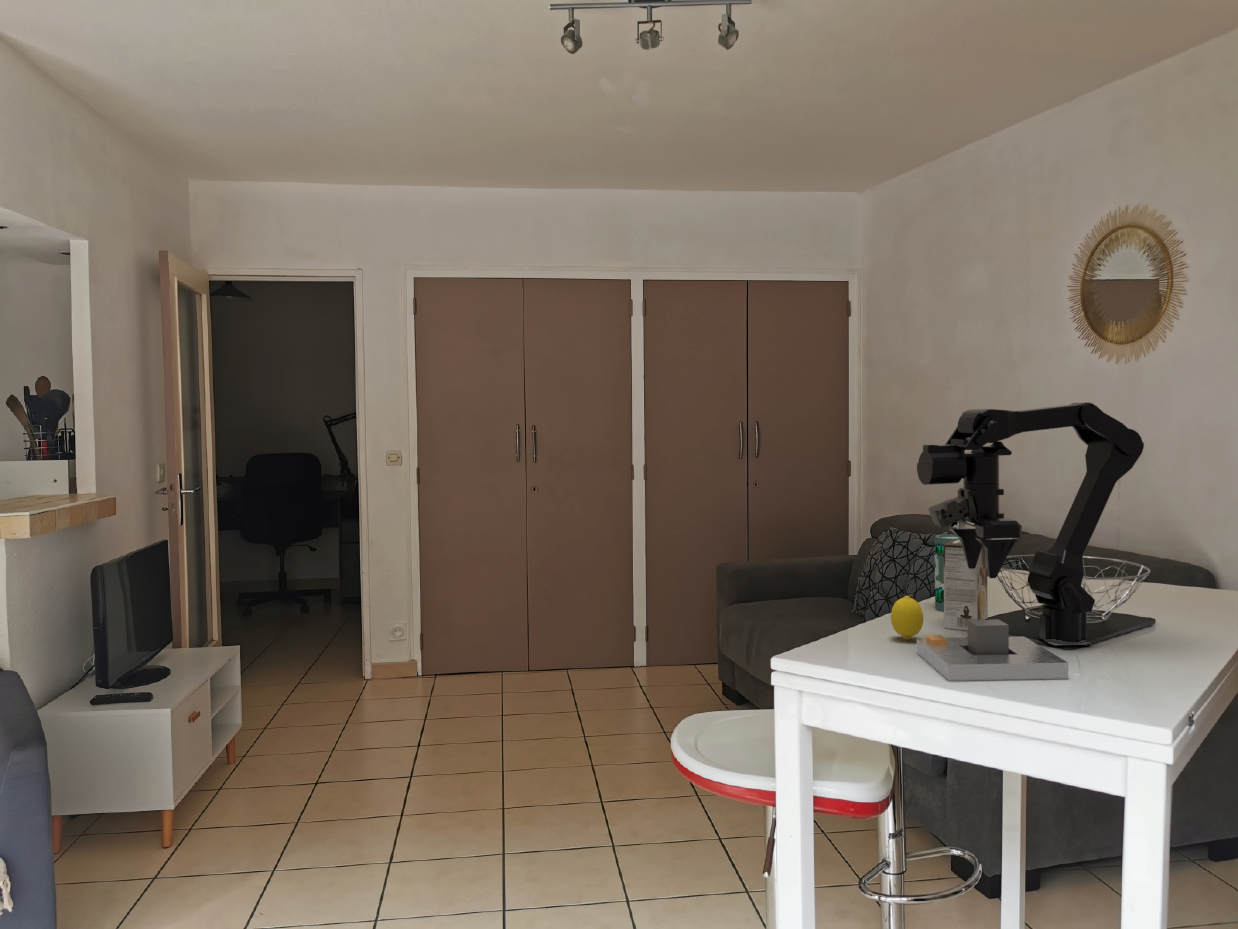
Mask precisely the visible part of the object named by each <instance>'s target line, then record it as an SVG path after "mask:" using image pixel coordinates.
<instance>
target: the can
mask: <svg viewBox="0 0 1238 929" xmlns="http://www.w3.org/2000/svg"><path fill="white" fill-rule="evenodd" d="M954 538H958V539H959V537H958V536H957V535H955V534H937V535H934V608H935V610H936V611H939V612H943V613H944V550H943V545H944V544H946V543H947V542H949V541H951V540H952V539H954Z"/></svg>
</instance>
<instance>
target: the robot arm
mask: <svg viewBox="0 0 1238 929" xmlns="http://www.w3.org/2000/svg"><path fill="white" fill-rule="evenodd" d="M1068 427H1069V428H1070V427H1072V429H1074V432H1075V434H1076V436H1077V438H1078V439H1079V440H1081V441H1082V442H1083V443H1084V444H1085V445H1086V446H1087V448H1086V452H1085V454H1084V455H1085V468H1086V472H1085V475H1084V477H1083V479H1082V481H1081V483H1080V486H1079V488H1078V490H1077V493H1076V495H1075V497H1074V500H1073V501H1072V504H1071V506H1070V508H1069V511H1068V512H1067V515H1066V517H1065V520H1064V522H1063V524H1062V526H1061V528H1060V530H1059V533H1058V534H1057V537H1056V540H1055V542H1054V544H1053V545H1052V546H1051V547H1050V548H1049V549H1048V550H1046V551H1041V550H1036V552H1035V553H1034V557H1033V559H1032V562H1031V564H1030V566H1029V567H1028V568H1027V569H1026V572H1029V573H1028V576H1027V584H1028V586H1029V589H1030V590H1031V591H1032V593H1033V594H1034V595H1035V598H1036V601H1037V603H1038V604H1040V605H1041V604H1042V606H1041V610H1042V611H1041V613H1042V614H1040V615H1039V633H1038V635H1039V636H1041V637H1043V638H1045V639H1046V640H1047V639H1056V640H1062V641H1066V642H1079V641H1081V640H1086V641H1087V613H1091V612H1092V611H1093V608H1094V606H1095V602H1096V599H1095V598H1094V597H1092V595H1091V594H1090V593H1089V592H1088V591H1086V590H1085V588H1084V587H1082V584H1083V580H1084V577H1085V571H1084V560H1083V559H1084V555H1085V552H1086V550H1087V548H1088V546H1089V544H1090V541H1091V539H1092V536H1093V534H1094V533H1095V530H1096V528H1097V525H1099V521H1100V519H1101V517H1102V515H1103V512H1104V510H1105V508H1106V506H1107V503H1108V501H1109V499H1110V497H1111V494H1112V492H1113V490H1114V488H1115V486H1116V484H1117V482H1118V481H1119V480H1120V479H1121V478H1123V477H1124V476H1125V475H1126V474H1127V473H1128V472H1130V471H1131V470H1132V469H1134V468H1133V467H1134V466H1135V464H1136V463H1137V462H1138V460H1139V458H1140V457H1141V455H1142V454H1143V453H1144V448H1145V442H1143V439H1142V436H1141V435H1140V433H1138V431H1136V430H1134V429H1132V428H1128V427H1127V425H1125V424H1124V423H1123V422H1121V421H1119V420H1118V419H1116V418H1115V417H1112V416H1111V415H1109V414H1108V413H1105V412H1104V411H1103V410H1102V409H1101V408H1100V407H1098V406H1097V405H1096V404H1094V403H1092V402H1072V403H1070V404H1064V405H1056V406H1047V407H1038V408H1030V409H1021V410H1008V409H1007V410H1006V409H997V408H996V409H995V408H993V409H992V408H983V409H982V408H981V409H978V408H977V409H976V408H975V409H973V408H972V409H967V410H965V411H963V412H962V414H961V415H960V416H959V419H958V422H957V426H956V428H955V429H954V430H953V432H952V434H950V436H949V438H948V440H947V441H946V442H945V444H944V445H943V444H942V445H939V444H923V445H922V452H921V453H920V455H919V458H918V462H917V463H916V472H917V477H918V480H919V481H920V483H921V484H922V485H925V486H928V485H929V486H932V485H951V484H954V485H956V484H959V483H960V482H961V481H962V479H963V483H962V484H963V487H959V488H958V489H957V496H956V497H954V498H949V499H947V500H944V501H942V502H939V503H938V504H934V505H932V506H930V507H928V511H929V513H930V516H931V519H932V522H933V525H934V526H936V527H937V526H938V527H939V528H947V527H948V530H949V531H951V532H952V533H953V535H957V536H958V537H959V539H960V542H961V545H962V548H963V552H964V555H965V559H966V562H967V565H968V568H969V569H975V567H976V564H977V562H978V558H979V555H980V552H981V548H982V545H983V547H984V550H985V557H986V564H987V576H988V578H989V579H996V578H997V577H998V575H999V573H1000V571H1001V569H1002V568H1003V565H1004V563H1005V561H1006V560H1007V557H1008V556H1009V554H1010V552H1011V551H1012V549H1013V547H1014V545H1015V543H1018V541H1019V539H1021V538H1022V535H1023V532H1022V531H1023V529H1022V528H1023V526H1022V525H1021V524H1020V523H1019V522H1018V521H1017V520H1015V519H1012V518H1008V517H1005V513H1004V512H1000V496H1004V495H1005V493H1004V492H1005V489H1004V488H1000V456H1011V455H1012V454H1013V452H1012V450H1010V449H1009V448H1008V447H1007V446H1005V445H1004V443H1003V441H1004V440H1007V439H1009V438H1011V437H1014V436H1015V435H1018V434H1021V433H1026V432H1027V433H1029V432H1035V431H1044V430H1052V429H1060V428H1068ZM986 444H990V445H986ZM965 451H970V452H965ZM1091 646H1092V642H1090V643H1088V644H1087V645H1085V646H1084V647H1091Z"/></svg>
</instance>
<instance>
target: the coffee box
mask: <svg viewBox="0 0 1238 929" xmlns="http://www.w3.org/2000/svg"><path fill="white" fill-rule="evenodd" d="M943 550H944V612H943V623H944V624H943V627H944V629H947V630H957V631H958V630H959V631H967V632H968V620H985V619H988V617H989V615H988V611H989V610H988V609H989V608H988V606H989V605H988V604H989V603H988V599H989V598H988V570H987V564H986V557H985V550H984V547H983V545H982V548H981V552H980V555H979V558H978V562H977V564H976V567H975V569H969V568H968V565H967V562H966V559H965V555H964V552H963V548H962V545H961V542H960V539H958V538H954V539H952V540H951V541H949V542H947V543H946V544H944V545H943ZM988 620H989V619H988Z"/></svg>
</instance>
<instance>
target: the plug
mask: <svg viewBox="0 0 1238 929" xmlns="http://www.w3.org/2000/svg"><path fill="white" fill-rule="evenodd" d="M1009 627H1010V626H1009V624H1007V623H1006V622H1004V621H1002V620H1001V619H998V618H997V619H996V618H995V619H988V620H968V631H967V638H968V652H969V653H971V654H972V655H1009V637H1010V636H1009V631H1010V630H1009Z"/></svg>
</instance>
